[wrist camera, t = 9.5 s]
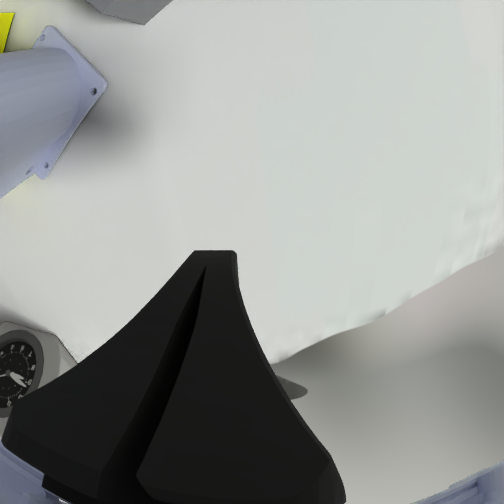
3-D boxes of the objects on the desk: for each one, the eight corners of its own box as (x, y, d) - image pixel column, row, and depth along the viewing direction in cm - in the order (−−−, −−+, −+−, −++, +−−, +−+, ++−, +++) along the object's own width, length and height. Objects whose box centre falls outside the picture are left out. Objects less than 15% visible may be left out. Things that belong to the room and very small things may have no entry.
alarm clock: (76, 340, 30) (28, 471, 14) (98, 370, 34) (63, 485, 18) (-6, 317, 30) (-50, 405, 14) (15, 344, 35) (-22, 427, 19)
